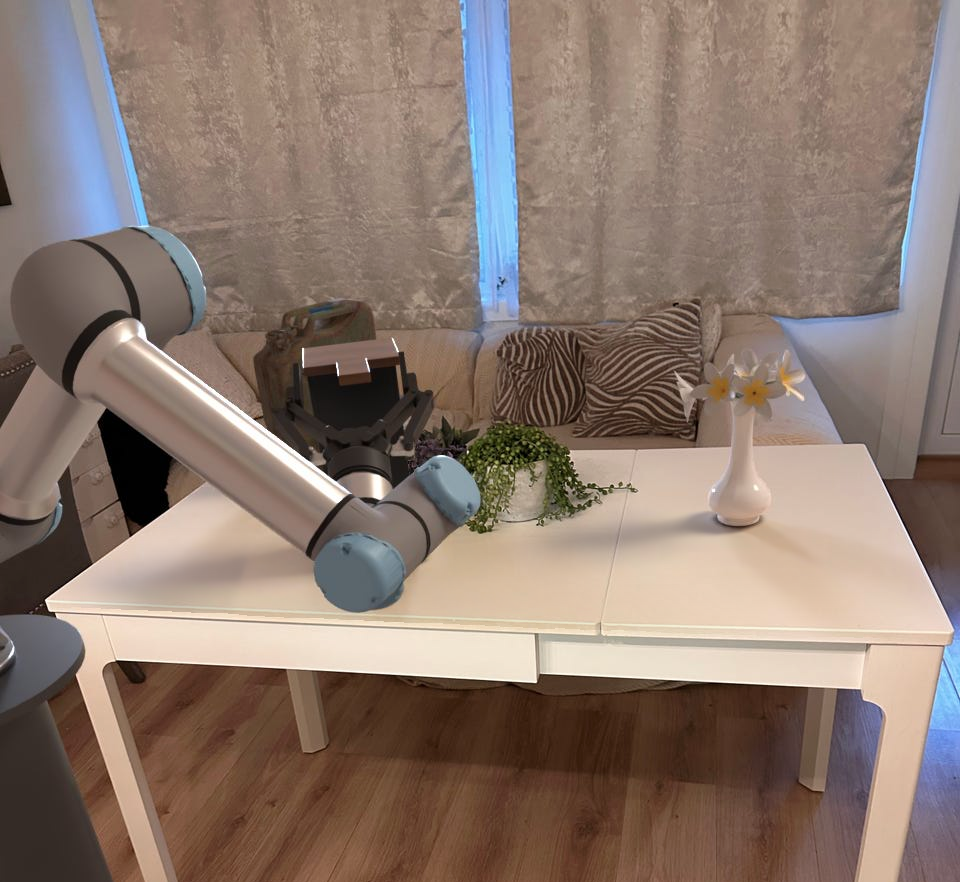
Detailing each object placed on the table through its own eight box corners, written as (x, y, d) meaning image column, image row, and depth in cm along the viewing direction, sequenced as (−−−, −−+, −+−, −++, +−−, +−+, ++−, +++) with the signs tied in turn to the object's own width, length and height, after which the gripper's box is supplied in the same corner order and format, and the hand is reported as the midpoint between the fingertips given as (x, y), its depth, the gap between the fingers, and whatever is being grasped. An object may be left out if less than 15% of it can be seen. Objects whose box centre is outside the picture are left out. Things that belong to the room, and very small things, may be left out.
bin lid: (407, 383, 121) (405, 367, 120) (305, 396, 120) (302, 380, 119) (394, 351, 139) (392, 336, 138) (305, 362, 137) (302, 347, 136)
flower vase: (664, 511, 150) (665, 351, 138) (778, 498, 150) (789, 337, 138) (687, 543, 138) (690, 371, 126) (810, 529, 139) (825, 356, 127)
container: (367, 450, 192) (344, 295, 177) (398, 458, 185) (376, 298, 171) (272, 482, 179) (239, 318, 165) (302, 493, 172) (270, 323, 158)
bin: (420, 561, 141) (395, 365, 127) (340, 571, 141) (306, 375, 127) (416, 531, 152) (393, 346, 138) (342, 540, 151) (310, 356, 137)
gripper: (262, 522, 115) (260, 397, 126) (466, 498, 116) (446, 376, 127) (248, 481, 108) (247, 353, 119) (464, 456, 110) (443, 332, 120)
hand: (349, 365), depth 123 cm, fingers open, 13 cm apart
